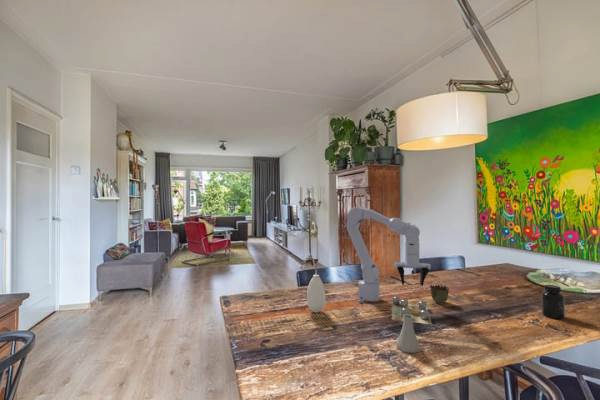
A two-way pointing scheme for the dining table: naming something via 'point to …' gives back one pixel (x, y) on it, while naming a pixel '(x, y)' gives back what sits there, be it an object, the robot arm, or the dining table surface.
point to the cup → (439, 293)
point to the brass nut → (413, 310)
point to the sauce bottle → (316, 294)
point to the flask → (408, 336)
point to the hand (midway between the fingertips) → (412, 284)
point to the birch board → (417, 318)
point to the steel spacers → (406, 310)
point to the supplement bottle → (553, 302)
